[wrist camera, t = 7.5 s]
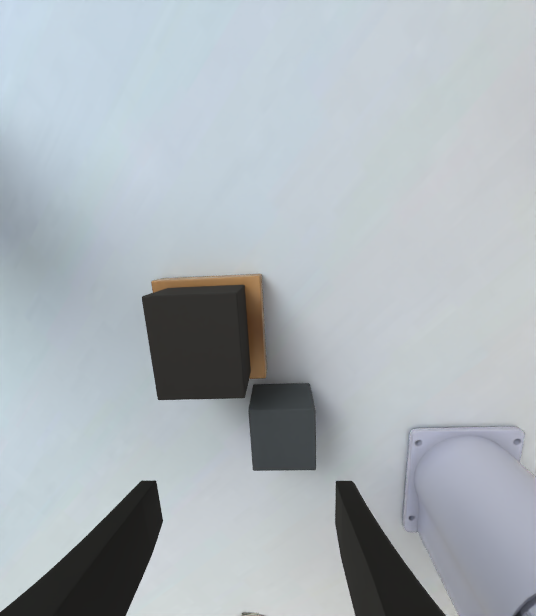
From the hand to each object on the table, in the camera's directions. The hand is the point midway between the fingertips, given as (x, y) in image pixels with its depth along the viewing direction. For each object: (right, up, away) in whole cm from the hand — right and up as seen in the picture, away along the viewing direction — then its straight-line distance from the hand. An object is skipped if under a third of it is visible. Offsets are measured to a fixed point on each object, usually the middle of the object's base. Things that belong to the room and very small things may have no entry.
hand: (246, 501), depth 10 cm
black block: (-3, +6, +7) cm, 10 cm away
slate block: (+2, 0, +10) cm, 10 cm away
